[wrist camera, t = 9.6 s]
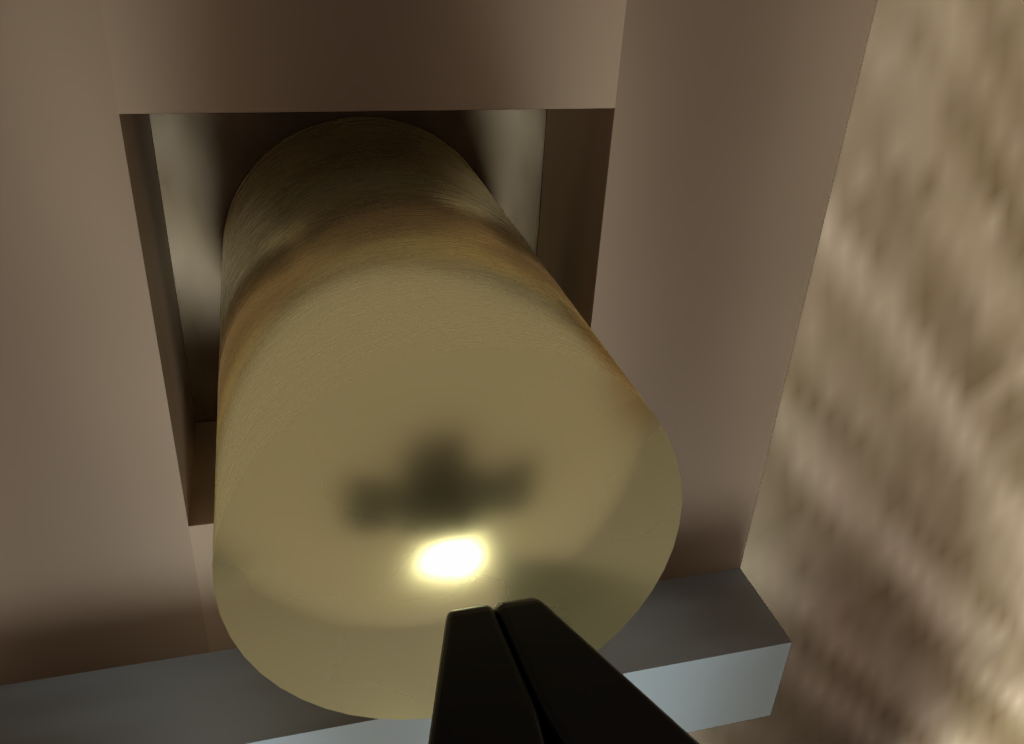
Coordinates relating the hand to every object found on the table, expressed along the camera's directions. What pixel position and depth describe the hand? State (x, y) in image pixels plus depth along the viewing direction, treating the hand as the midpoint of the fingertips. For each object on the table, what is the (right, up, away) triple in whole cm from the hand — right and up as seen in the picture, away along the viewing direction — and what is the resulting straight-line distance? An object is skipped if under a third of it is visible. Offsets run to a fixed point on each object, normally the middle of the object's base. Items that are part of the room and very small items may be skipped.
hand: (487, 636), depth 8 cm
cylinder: (-2, +5, +8) cm, 9 cm away
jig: (-2, +5, +7) cm, 9 cm away
